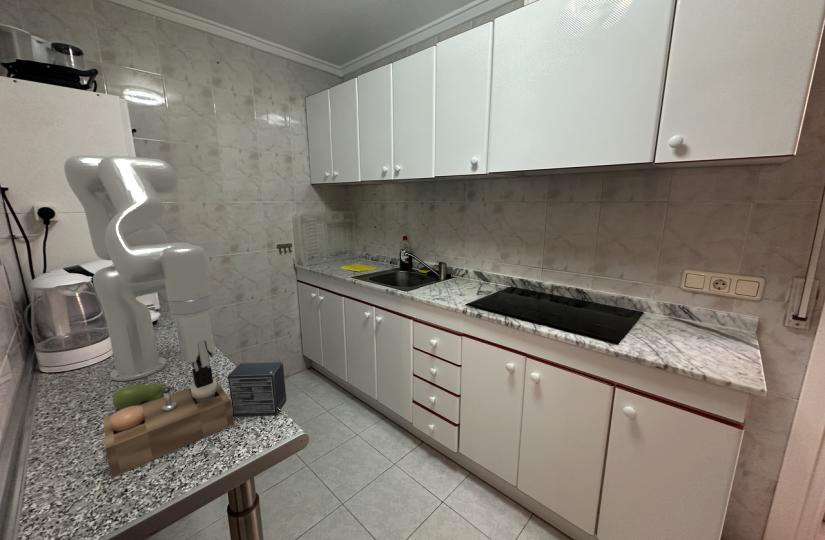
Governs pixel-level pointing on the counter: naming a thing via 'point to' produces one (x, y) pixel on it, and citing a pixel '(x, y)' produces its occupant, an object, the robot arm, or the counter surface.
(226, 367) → the counter surface
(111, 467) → the wooden condiment caddy
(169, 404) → the pot stem
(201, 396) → the knob cream
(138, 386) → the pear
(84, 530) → the counter surface
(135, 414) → the knob terracotta
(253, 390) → the small box
